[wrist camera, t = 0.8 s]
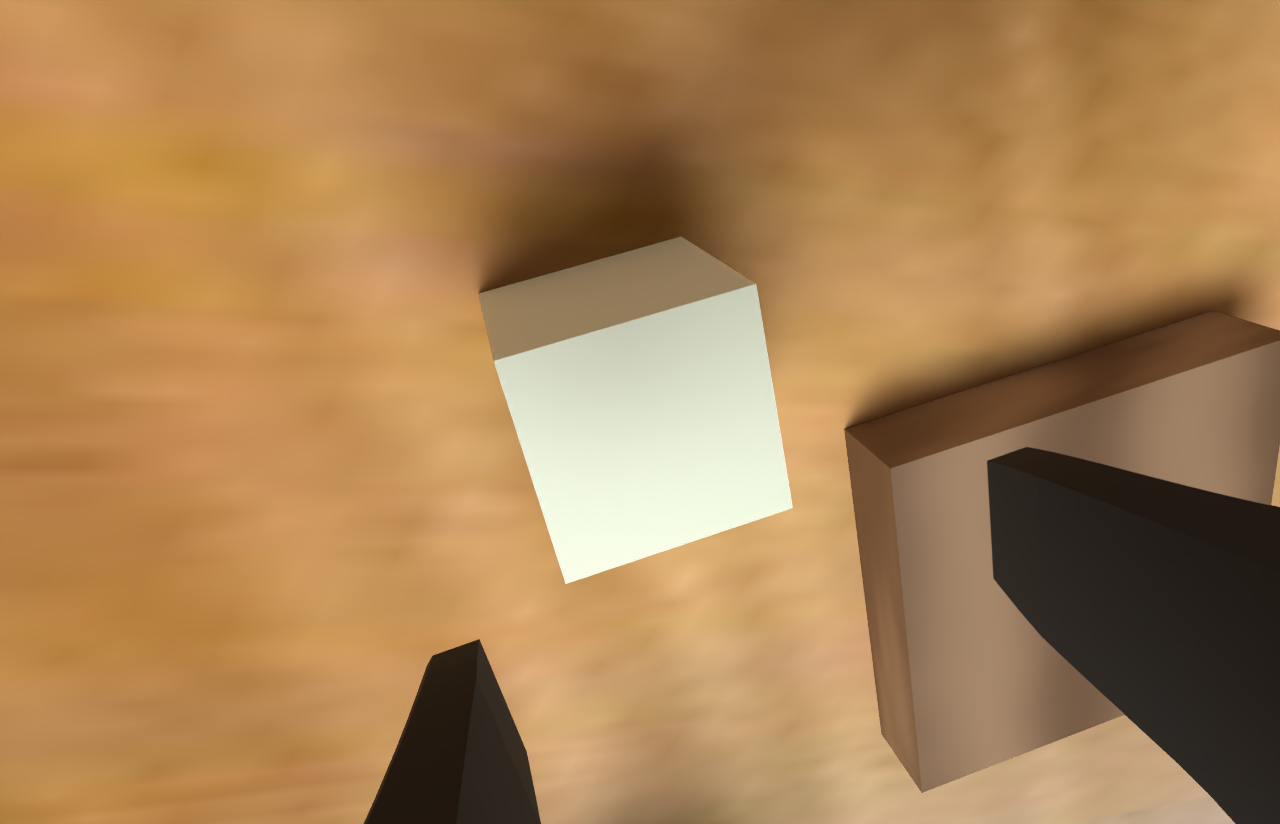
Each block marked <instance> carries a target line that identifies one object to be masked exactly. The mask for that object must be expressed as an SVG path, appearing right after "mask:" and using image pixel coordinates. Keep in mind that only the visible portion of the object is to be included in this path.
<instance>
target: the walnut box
mask: <svg viewBox="0 0 1280 824" xmlns="http://www.w3.org/2000/svg"><path fill="white" fill-rule="evenodd" d="M844 430H845V439H846V447H847V455H848V463H849V471H850V480H851V488H852V496H853V504H854V512H855V520H856V529H857V537H858V545H859V553H860V561H861V570H862V578H863V586H864V594H865V602H866V610H867V619H868V627H869V635H870V643H871V651H872V659H873V668H874V676H875V684H876V692H877V700H878V709H879V717H880V725H881V733H882V735H883V737H884V738H885V740H886V741H887V742H888V744H889V745H890V747H891V748H892V750H893V751H894V753H895V754H896V756H897V757H898V759H899V760H900V761H901V763H902V764H903V766H904V767H905V769H906V770H907V772H908V773H909V775H910V776H911V778H912V779H913V781H914V782H915V783H916V785H917V786H918V788H919V789H920V791H921V792H922V793H923V792H925V791H928V790H930V789H933V788H936V787H938V786H941V785H943V784H946V783H949V782H951V781H954V780H956V779H959V778H962V777H964V776H967V775H969V774H972V773H974V772H977V771H980V770H982V769H985V768H987V767H990V766H993V765H995V764H998V763H1000V762H1003V761H1006V760H1008V759H1011V758H1013V757H1016V756H1019V755H1021V754H1024V753H1026V752H1029V751H1031V750H1034V749H1037V748H1039V747H1042V746H1044V745H1047V744H1050V743H1052V742H1055V741H1057V740H1060V739H1063V738H1065V737H1068V736H1070V735H1073V734H1076V733H1078V732H1081V731H1083V730H1086V729H1089V728H1091V727H1094V726H1096V725H1099V724H1101V723H1104V722H1107V721H1109V720H1112V719H1114V718H1117V717H1120V716H1122V715H1125V714H1124V713H1123V712H1122V711H1120V710H1119V709H1118V708H1117V707H1116V706H1115V705H1114V704H1113V703H1112V702H1111V701H1110V700H1109V699H1107V698H1106V697H1105V696H1104V695H1103V694H1102V693H1101V692H1100V691H1099V690H1098V689H1097V688H1095V687H1094V686H1093V685H1092V684H1091V683H1090V682H1089V681H1088V680H1087V679H1086V678H1085V677H1084V676H1083V675H1082V674H1080V673H1079V672H1078V671H1077V670H1076V669H1075V668H1074V667H1073V666H1072V665H1071V664H1070V663H1069V662H1068V661H1067V660H1066V659H1064V658H1063V657H1062V656H1061V655H1060V654H1059V653H1058V652H1057V651H1056V650H1055V649H1054V648H1053V647H1052V646H1051V645H1050V644H1049V643H1048V642H1047V641H1046V640H1045V639H1044V638H1042V637H1041V635H1040V634H1039V633H1038V632H1037V631H1036V630H1035V628H1034V627H1033V626H1032V625H1031V624H1030V623H1029V622H1028V620H1027V619H1026V618H1025V617H1024V616H1023V615H1022V613H1021V612H1020V611H1019V610H1018V609H1017V607H1016V606H1015V605H1014V604H1013V602H1012V601H1011V600H1010V599H1009V597H1008V596H1007V595H1006V594H1005V592H1004V591H1003V590H1002V589H1001V587H1000V586H999V585H998V584H997V582H996V581H995V580H994V579H993V562H992V544H991V526H990V508H989V490H988V472H987V461H988V460H990V459H993V458H996V457H999V456H1002V455H1005V454H1007V453H1010V452H1013V451H1016V450H1019V449H1022V448H1025V447H1030V448H1036V449H1041V450H1046V451H1051V452H1055V453H1060V454H1064V455H1068V456H1072V457H1076V458H1081V459H1085V460H1089V461H1093V462H1096V463H1100V464H1104V465H1108V466H1112V467H1116V468H1120V469H1123V470H1127V471H1131V472H1135V473H1139V474H1143V475H1147V476H1150V477H1154V478H1158V479H1162V480H1166V481H1170V482H1174V483H1178V484H1182V485H1186V486H1190V487H1194V488H1198V489H1202V490H1206V491H1210V492H1214V493H1218V494H1223V495H1227V496H1231V497H1235V498H1240V499H1244V500H1248V501H1253V502H1257V503H1262V504H1267V505H1271V502H1272V495H1273V487H1274V480H1275V473H1276V466H1277V459H1278V452H1279V445H1280V331H1279V330H1276V329H1272V328H1269V327H1266V326H1262V325H1259V324H1256V323H1252V322H1249V321H1246V320H1242V319H1239V318H1236V317H1232V316H1229V315H1226V314H1222V313H1219V312H1216V311H1211V312H1208V313H1205V314H1201V315H1198V316H1195V317H1192V318H1189V319H1186V320H1183V321H1180V322H1176V323H1173V324H1170V325H1167V326H1164V327H1161V328H1158V329H1155V330H1152V331H1148V332H1145V333H1142V334H1139V335H1136V336H1133V337H1130V338H1127V339H1123V340H1120V341H1117V342H1114V343H1111V344H1108V345H1105V346H1102V347H1099V348H1095V349H1092V350H1089V351H1086V352H1083V353H1080V354H1077V355H1074V356H1071V357H1067V358H1064V359H1061V360H1058V361H1055V362H1052V363H1049V364H1046V365H1042V366H1039V367H1036V368H1033V369H1030V370H1027V371H1024V372H1021V373H1018V374H1014V375H1011V376H1008V377H1005V378H1002V379H999V380H996V381H993V382H989V383H986V384H983V385H980V386H977V387H974V388H971V389H968V390H965V391H961V392H958V393H955V394H952V395H949V396H946V397H943V398H940V399H937V400H933V401H930V402H927V403H924V404H921V405H918V406H915V407H912V408H908V409H905V410H902V411H899V412H896V413H893V414H890V415H887V416H884V417H880V418H877V419H874V420H871V421H868V422H865V423H862V424H859V425H855V426H852V427H849V428H846V429H844Z"/></svg>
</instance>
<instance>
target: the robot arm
mask: <svg viewBox="0 0 1280 824" xmlns="http://www.w3.org/2000/svg"><path fill="white" fill-rule="evenodd" d="M987 472H988V490H989V508H990V526H991V544H992V562H993V579H994V580H995V581H996V582H997V584H998V585H999V586H1000V587H1001V589H1002V590H1003V591H1004V592H1005V594H1006V595H1007V596H1008V597H1009V599H1010V600H1011V601H1012V602H1013V604H1014V605H1015V606H1016V607H1017V609H1018V610H1019V611H1020V612H1021V613H1022V615H1023V616H1024V617H1025V618H1026V619H1027V620H1028V622H1029V623H1030V624H1031V625H1032V626H1033V627H1034V628H1035V630H1036V631H1037V632H1038V633H1039V634H1040V635H1041V637H1042V638H1044V639H1045V640H1046V641H1047V642H1048V643H1049V644H1050V645H1051V646H1052V647H1053V648H1054V649H1055V650H1056V651H1057V652H1058V653H1059V654H1060V655H1061V656H1062V657H1063V658H1064V659H1066V660H1067V661H1068V662H1069V663H1070V664H1071V665H1072V666H1073V667H1074V668H1075V669H1076V670H1077V671H1078V672H1079V673H1080V674H1082V675H1083V676H1084V677H1085V678H1086V679H1087V680H1088V681H1089V682H1090V683H1091V684H1092V685H1093V686H1094V687H1095V688H1097V689H1098V690H1099V691H1100V692H1101V693H1102V694H1103V695H1104V696H1105V697H1106V698H1107V699H1109V700H1110V701H1111V702H1112V703H1113V704H1114V705H1115V706H1116V707H1117V708H1118V709H1119V710H1120V711H1122V712H1123V713H1124V714H1125V715H1126V716H1127V717H1128V718H1129V719H1130V720H1131V721H1132V722H1133V723H1135V724H1136V725H1137V726H1138V727H1139V728H1140V729H1141V730H1142V731H1143V732H1144V733H1145V734H1147V735H1148V736H1149V737H1150V738H1151V739H1152V740H1153V741H1154V742H1155V743H1156V744H1157V745H1158V746H1160V747H1161V748H1162V749H1163V750H1164V751H1165V752H1166V753H1167V754H1168V755H1169V756H1170V757H1171V758H1173V759H1174V760H1175V761H1176V762H1177V763H1178V764H1179V765H1180V766H1181V767H1182V768H1183V769H1184V770H1185V771H1186V772H1187V773H1188V774H1189V775H1190V776H1191V777H1192V778H1193V779H1194V780H1195V781H1196V782H1197V783H1198V784H1199V785H1200V786H1201V787H1202V788H1203V789H1204V790H1205V791H1206V792H1207V793H1208V794H1209V795H1210V796H1211V797H1212V798H1213V799H1214V800H1215V801H1216V802H1217V804H1218V805H1219V806H1220V807H1221V808H1222V809H1223V810H1224V811H1225V812H1226V814H1227V815H1228V816H1229V817H1230V818H1231V819H1232V820H1233V821H1234V822H1235V823H1236V824H1280V507H1276V506H1272V505H1267V504H1262V503H1257V502H1253V501H1248V500H1244V499H1240V498H1235V497H1231V496H1227V495H1223V494H1218V493H1214V492H1210V491H1206V490H1202V489H1198V488H1194V487H1190V486H1186V485H1182V484H1178V483H1174V482H1170V481H1166V480H1162V479H1158V478H1154V477H1150V476H1147V475H1143V474H1139V473H1135V472H1131V471H1127V470H1123V469H1120V468H1116V467H1112V466H1108V465H1104V464H1100V463H1096V462H1093V461H1089V460H1085V459H1081V458H1076V457H1072V456H1068V455H1064V454H1060V453H1055V452H1051V451H1046V450H1041V449H1036V448H1030V447H1025V448H1022V449H1019V450H1016V451H1013V452H1010V453H1007V454H1005V455H1002V456H999V457H996V458H993V459H990V460H988V461H987ZM364 824H541V822H540V817H539V812H538V806H537V801H536V796H535V791H534V786H533V781H532V776H531V771H530V766H529V761H528V756H527V752H526V749H525V747H524V745H523V742H522V740H521V737H520V735H519V733H518V730H517V728H516V726H515V723H514V721H513V718H512V716H511V714H510V711H509V709H508V706H507V704H506V702H505V699H504V697H503V695H502V692H501V690H500V687H499V685H498V683H497V680H496V678H495V675H494V673H493V671H492V668H491V666H490V664H489V661H488V659H487V656H486V654H485V652H484V649H483V647H482V645H481V642H480V640H476V641H473V642H470V643H467V644H465V645H462V646H459V647H456V648H453V649H450V650H448V651H445V652H442V653H439V654H436V655H433V656H432V658H431V660H430V661H429V663H428V665H427V667H426V670H425V673H424V676H423V678H422V681H421V684H420V687H419V690H418V692H417V695H416V698H415V701H414V703H413V706H412V709H411V712H410V714H409V717H408V720H407V722H406V725H405V727H404V730H403V732H402V735H401V738H400V740H399V743H398V745H397V748H396V750H395V753H394V755H393V757H392V760H391V762H390V764H389V767H388V769H387V771H386V774H385V776H384V779H383V781H382V783H381V786H380V788H379V790H378V793H377V795H376V797H375V800H374V802H373V804H372V807H371V809H370V811H369V813H368V815H367V818H366V820H365V822H364Z"/></svg>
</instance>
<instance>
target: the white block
mask: <svg viewBox="0 0 1280 824" xmlns="http://www.w3.org/2000/svg"><path fill="white" fill-rule="evenodd" d="M478 294H479V299H480V303H481V308H482V312H483V316H484V321H485V325H486V329H487V334H488V338H489V343H490V347H491V351H492V356H493V360H494V363H495V366H496V370H497V373H498V376H499V379H500V382H501V385H502V388H503V391H504V394H505V397H506V401H507V404H508V407H509V410H510V413H511V416H512V419H513V422H514V425H515V428H516V432H517V435H518V438H519V441H520V444H521V447H522V450H523V453H524V456H525V459H526V462H527V466H528V469H529V472H530V475H531V478H532V481H533V484H534V487H535V490H536V493H537V497H538V500H539V503H540V506H541V509H542V512H543V515H544V518H545V521H546V524H547V527H548V531H549V534H550V537H551V540H552V543H553V546H554V549H555V552H556V555H557V558H558V562H559V565H560V568H561V571H562V574H563V577H564V580H565V583H566V584H567V583H570V582H573V581H576V580H579V579H582V578H585V577H588V576H591V575H594V574H597V573H600V572H603V571H606V570H609V569H612V568H615V567H618V566H621V565H624V564H627V563H630V562H633V561H636V560H639V559H642V558H645V557H648V556H651V555H654V554H657V553H660V552H663V551H666V550H669V549H672V548H674V547H677V546H680V545H683V544H686V543H689V542H692V541H695V540H698V539H701V538H704V537H707V536H710V535H713V534H716V533H719V532H722V531H725V530H728V529H731V528H734V527H737V526H740V525H743V524H746V523H749V522H752V521H755V520H758V519H761V518H764V517H767V516H770V515H773V514H776V513H779V512H782V511H785V510H788V509H791V508H793V507H792V501H791V494H790V488H789V482H788V476H787V470H786V464H785V457H784V451H783V445H782V439H781V433H780V427H779V421H778V414H777V408H776V402H775V396H774V390H773V384H772V377H771V371H770V365H769V359H768V353H767V347H766V341H765V334H764V328H763V322H762V316H761V310H760V304H759V297H758V291H757V285H756V283H754V282H753V281H751V280H749V279H748V278H746V277H745V276H743V275H742V274H740V273H738V272H737V271H735V270H734V269H732V268H730V267H729V266H727V265H726V264H724V263H723V262H721V261H719V260H718V259H716V258H715V257H713V256H711V255H710V254H708V253H707V252H705V251H704V250H702V249H700V248H699V247H697V246H696V245H694V244H692V243H691V242H689V241H688V240H686V239H685V238H683V237H677V238H674V239H670V240H667V241H663V242H660V243H656V244H652V245H649V246H645V247H642V248H638V249H635V250H631V251H628V252H624V253H621V254H617V255H613V256H610V257H606V258H603V259H599V260H596V261H592V262H589V263H585V264H581V265H578V266H574V267H571V268H567V269H564V270H560V271H557V272H553V273H549V274H546V275H542V276H539V277H535V278H532V279H528V280H525V281H521V282H518V283H514V284H510V285H507V286H503V287H500V288H496V289H493V290H489V291H486V292H482V293H478Z"/></svg>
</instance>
